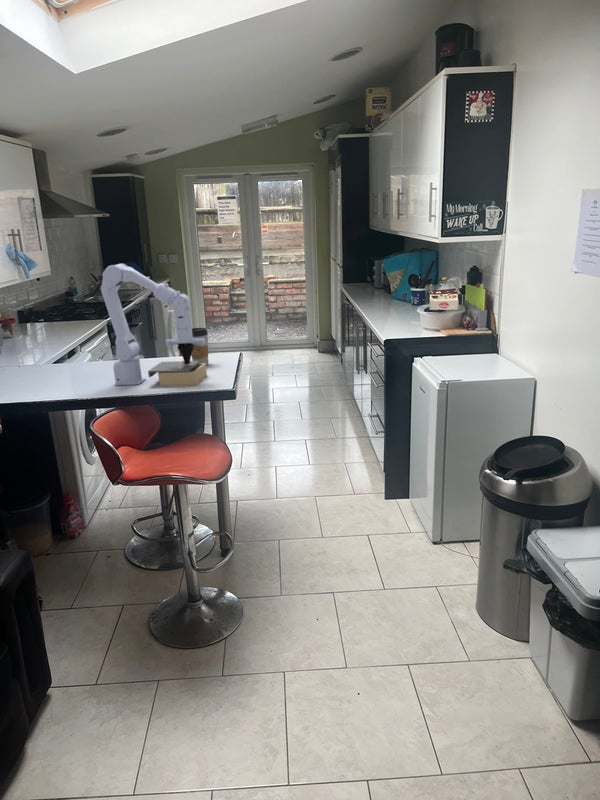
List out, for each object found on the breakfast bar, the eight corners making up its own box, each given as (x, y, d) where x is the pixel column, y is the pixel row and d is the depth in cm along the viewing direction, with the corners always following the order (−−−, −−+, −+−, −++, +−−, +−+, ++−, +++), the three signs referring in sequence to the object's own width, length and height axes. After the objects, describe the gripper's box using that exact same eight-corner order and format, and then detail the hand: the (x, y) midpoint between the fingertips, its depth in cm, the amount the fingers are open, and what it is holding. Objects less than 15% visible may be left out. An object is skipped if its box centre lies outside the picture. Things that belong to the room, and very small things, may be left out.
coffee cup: (187, 367, 251) (183, 331, 247) (195, 362, 259) (192, 327, 254) (206, 367, 249) (202, 331, 244) (214, 362, 257) (210, 327, 252)
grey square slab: (148, 377, 223) (147, 365, 221) (162, 367, 237) (161, 356, 235) (188, 376, 221) (187, 364, 219) (200, 366, 234) (198, 355, 233)
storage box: (159, 386, 224) (158, 373, 222) (172, 376, 237) (170, 364, 235) (196, 385, 222) (195, 372, 220) (206, 375, 235) (205, 363, 233)
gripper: (205, 325, 226) (209, 360, 230) (168, 326, 228) (172, 361, 232) (200, 328, 219) (204, 365, 223) (162, 329, 221) (166, 365, 225)
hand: (187, 363), depth 227 cm, fingers closed
